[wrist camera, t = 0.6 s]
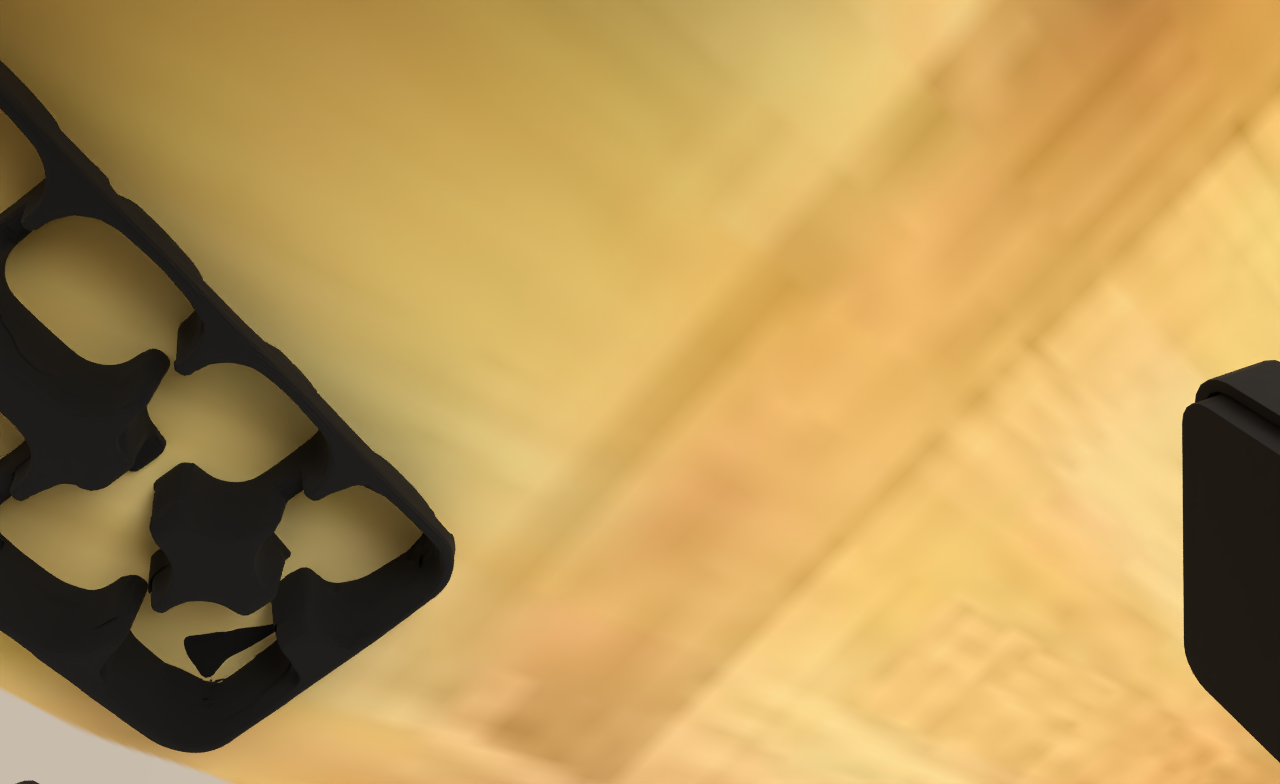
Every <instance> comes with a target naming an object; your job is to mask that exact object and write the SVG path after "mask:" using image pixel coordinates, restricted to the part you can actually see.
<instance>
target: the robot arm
mask: <svg viewBox="0 0 1280 784" xmlns="http://www.w3.org/2000/svg"><path fill="white" fill-rule="evenodd" d="M1182 454H1183V580H1184V648H1185V654H1186V657H1187V660H1188V663H1189V665H1190V667H1191V670H1192V672H1193V674H1194V675H1195V677H1196V678H1197V680H1198V681H1199V683H1200V684H1201V685H1202V686H1203V687H1204V688H1205V690H1206V691H1207V692H1208V693H1209V694H1210V695H1211V696H1212V697H1213V698H1214V699H1215V700H1216V701H1217V702H1219V703H1220V704H1221V705H1222V706H1223V707H1224V708H1225V709H1226V710H1227V711H1228V712H1229V713H1230V714H1231V715H1232V716H1233V717H1234V718H1235V719H1236V720H1237V721H1238V722H1239V723H1240V724H1241V725H1242V726H1243V727H1244V728H1245V729H1246V730H1247V731H1248V732H1249V733H1250V734H1251V735H1252V736H1253V737H1254V738H1255V739H1256V740H1257V741H1258V742H1259V743H1260V744H1261V745H1262V746H1263V747H1264V748H1265V749H1266V750H1267V751H1268V752H1269V753H1270V754H1271V755H1272V756H1273V757H1274V758H1276V759H1277V760H1278V761H1279V762H1280V362H1279V361H1276V360H1269V361H1263V362H1260V363H1257V364H1254V365H1251V366H1248V367H1245V368H1242V369H1239V370H1236V371H1233V372H1230V373H1227V374H1224V375H1221V376H1218V377H1216V378H1213V379H1210V380H1207V381H1206V382H1204V383H1203V384H1201V385H1200V387H1199V389H1198V391H1197V393H1196V399H1195V403H1193V404H1191V405H1190V406H1188V407H1187V408H1186V410H1185V412H1184V414H1183V421H1182ZM17 784H39V783H37V782H35V781H23V782H20V783H17Z"/></svg>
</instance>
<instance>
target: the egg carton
mask: <svg viewBox="0 0 1280 784" xmlns="http://www.w3.org/2000/svg"><path fill="white" fill-rule="evenodd" d="M0 108H1V109H2V110H3V111H4V112H5V114H6V115H7V116H8V117H9V118H10V119H11V120H12V121H13V122H14V123H15V124H16V126H17V127H18V128H19V129H20V130H21V131H22V132H23V134H24V135H25V136H26V137H27V138H28V139H29V140H30V142H31V143H32V144H33V145H34V147H35V148H36V150H37V152H38V154H39V156H40V158H41V160H42V163H43V166H44V169H45V175H46V178H45V179H44V180H43V181H42V182H40V183H39V184H38V185H37V186H36V187H34V188H33V189H32V190H31V191H29V192H28V193H27V194H26V195H24V196H23V197H22V198H21V199H19V200H18V201H17V202H16V203H14V204H13V205H12V206H11V207H9V208H8V209H7V210H5V211H4V212H3V213H1V214H0V412H1V413H2V414H3V415H4V416H6V417H7V418H8V419H9V420H10V421H11V422H12V423H13V424H14V425H15V426H16V427H17V429H18V430H19V431H20V432H21V433H22V435H23V436H24V438H25V439H26V440H25V441H24V442H23V443H22V444H21V445H19V446H18V447H17V448H16V449H14V450H13V451H11V452H10V453H9V454H7V455H6V456H5V457H3V458H2V459H0V505H1V504H2V503H3V502H4V501H5V500H7V499H8V498H9V497H10V496H12V497H13V498H14V499H16V500H19V501H22V500H25V499H28V498H29V497H30V496H32V495H35V494H37V493H39V492H41V491H43V490H46V489H49V488H51V487H53V486H56V485H58V484H74V485H77V486H78V487H80V488H83V489H86V490H90V491H92V490H99V489H102V488H105V487H107V486H108V485H110V484H111V483H112V482H114V481H115V480H116V479H118V478H119V477H120V476H122V475H123V474H124V473H126V472H127V471H138V470H139V469H141V468H143V467H144V466H146V465H147V464H149V463H150V462H151V461H153V460H154V459H155V458H157V457H158V456H159V455H160V454H161V453H162V452H163V451H164V449H165V446H166V440H165V439H164V437H163V436H162V435H161V434H160V432H159V431H158V429H157V427H156V426H155V425H154V424H153V423H152V421H151V419H150V417H149V415H148V412H147V404H148V403H149V401H150V400H151V398H152V396H153V394H154V392H155V391H156V389H157V388H158V386H159V384H160V381H161V379H162V378H163V376H164V375H165V373H166V372H167V370H168V368H169V366H170V360H169V358H168V357H167V356H166V355H165V354H164V353H163V352H162V351H160V350H157V349H149V350H147V351H145V352H143V353H141V354H139V355H138V356H136V357H135V358H133V359H131V360H130V361H127V362H125V363H122V364H117V365H101V364H96V363H93V362H90V361H88V360H85V359H84V358H82V357H80V356H79V355H77V354H76V353H75V352H74V351H72V350H71V349H70V348H69V347H68V346H66V345H65V344H64V343H63V342H62V341H61V340H60V339H59V338H57V337H56V336H55V335H54V334H53V333H52V332H51V331H50V330H49V329H48V328H46V327H45V326H44V325H43V324H42V323H41V322H40V321H39V320H38V319H37V318H36V317H35V316H34V315H33V314H32V313H31V312H30V311H28V310H27V309H26V308H25V307H24V306H23V305H22V304H21V303H20V302H19V301H18V299H17V298H16V297H15V296H14V295H13V294H12V292H11V291H10V289H9V287H8V285H7V282H6V279H5V263H6V260H7V257H8V255H9V253H10V252H11V250H12V249H13V248H14V247H15V246H16V245H17V244H18V243H19V242H20V241H21V240H22V239H23V238H25V237H26V236H27V235H28V234H29V233H31V232H32V231H33V230H36V229H38V228H40V227H41V226H43V225H44V224H46V223H48V222H50V221H52V220H55V219H58V218H62V217H67V216H74V215H76V216H85V217H92V218H96V219H99V220H102V221H104V222H105V223H107V224H109V225H111V226H113V227H115V228H116V229H118V230H119V231H121V232H122V233H123V234H124V235H125V236H126V237H127V238H129V239H130V240H131V241H132V242H133V243H134V244H135V245H137V246H138V247H139V248H140V249H141V250H142V251H143V252H144V253H146V254H147V255H148V256H149V257H150V258H151V259H152V260H153V261H154V262H155V263H156V264H157V265H158V266H159V267H160V268H161V269H162V270H163V271H164V272H165V273H166V274H167V275H168V277H169V278H170V279H171V280H172V281H173V282H174V283H175V285H176V286H177V287H178V288H179V289H180V290H181V291H182V293H183V294H184V295H185V296H186V297H187V299H188V300H189V301H190V303H191V304H192V306H193V308H194V309H195V311H194V312H193V313H192V314H191V315H190V316H189V317H188V318H187V319H186V320H185V321H184V322H183V323H181V325H180V327H179V330H178V339H177V353H176V360H175V362H174V369H175V371H176V372H178V373H179V374H181V375H184V376H186V375H190V374H192V373H193V372H195V371H197V370H199V369H201V368H203V367H205V366H207V365H209V364H216V363H236V364H242V365H246V366H249V367H251V368H253V369H255V370H257V371H259V372H260V373H262V374H263V375H265V376H266V377H267V378H269V379H270V380H271V381H272V382H274V383H275V384H276V385H277V386H278V387H279V388H280V389H282V390H283V391H284V392H285V393H286V394H287V395H288V396H289V397H290V398H291V399H292V400H293V401H294V402H295V403H296V404H297V405H298V406H299V407H300V409H301V410H302V411H303V412H304V413H305V414H306V415H307V416H308V417H309V418H310V419H311V421H312V422H313V423H314V424H315V425H316V426H317V428H318V429H319V431H318V432H317V433H316V434H315V435H314V436H313V437H312V438H311V439H309V440H308V441H307V442H306V443H304V444H303V445H302V446H300V447H299V448H298V449H297V450H295V451H294V452H293V453H291V454H290V455H289V456H287V457H286V458H285V459H283V460H282V461H280V462H279V463H278V464H276V465H275V466H273V467H272V468H271V469H269V470H268V471H266V472H265V473H263V474H262V475H260V476H258V477H256V478H254V479H252V480H248V481H244V482H227V481H222V480H219V479H217V478H214V477H212V476H211V475H209V474H207V473H206V472H205V471H203V470H202V469H201V468H199V467H198V466H197V465H195V464H194V463H180V464H178V465H177V466H175V467H174V468H173V469H171V470H170V471H168V472H167V473H166V474H164V475H163V476H162V477H160V478H159V479H158V480H156V482H155V483H154V490H155V493H154V500H153V509H152V516H151V521H150V532H151V534H152V537H153V539H154V541H155V543H156V544H157V545H158V546H159V547H160V549H159V550H158V551H157V552H155V553H154V554H153V555H152V557H151V563H150V572H149V582H148V584H147V582H146V581H145V580H144V579H143V578H141V577H140V576H137V575H129V576H124V577H121V578H120V579H118V580H117V581H115V582H114V583H112V584H110V585H108V586H106V587H104V588H101V589H98V590H87V589H83V588H79V587H76V586H73V585H70V584H68V583H65V582H63V581H61V580H60V579H58V578H56V577H55V576H53V575H52V574H50V573H49V572H47V571H46V570H45V569H43V568H42V567H41V566H39V565H38V564H37V563H35V562H34V561H33V560H31V559H30V558H29V557H27V556H26V555H25V554H23V553H22V552H21V551H20V550H19V549H17V548H16V547H15V546H14V545H13V544H12V543H11V542H10V541H9V540H7V539H6V538H5V537H4V536H3V535H2V534H1V533H0V537H1V538H2V539H3V540H4V541H3V540H2V539H1V538H0V631H2V632H3V633H5V634H6V635H8V636H9V637H11V638H12V639H14V640H15V641H16V642H18V643H19V644H20V645H22V646H23V647H24V648H26V649H27V650H28V651H30V652H31V653H32V654H33V655H34V656H36V657H37V658H38V659H39V660H40V661H42V662H43V663H45V664H46V665H48V666H49V667H50V668H52V669H53V670H55V671H56V672H57V673H59V674H60V675H62V676H63V677H64V678H66V679H67V680H69V681H70V682H71V683H73V684H74V685H75V686H77V687H78V688H79V689H81V690H82V691H83V692H84V693H86V694H87V695H88V696H90V697H91V698H92V699H94V700H95V701H96V702H98V703H99V704H101V705H102V706H104V707H105V708H106V709H108V710H109V711H111V712H112V713H113V714H115V715H116V716H117V717H119V718H120V719H121V720H123V721H124V722H125V723H127V724H128V725H130V726H131V727H133V728H134V729H135V730H137V731H139V732H140V733H141V734H143V735H144V736H146V737H147V738H149V739H150V740H152V741H154V742H156V743H157V744H159V745H162V746H164V747H167V748H170V749H173V750H177V751H182V752H189V753H201V752H208V751H212V750H215V749H218V748H220V747H223V746H224V745H226V744H228V743H229V742H231V741H232V740H234V739H235V738H236V737H238V736H239V735H241V734H242V733H243V732H245V731H246V730H248V729H249V728H251V727H252V726H254V725H255V724H257V723H258V722H260V721H261V720H263V719H264V718H266V717H267V716H269V715H270V714H272V713H273V712H275V711H276V710H277V709H279V708H280V707H282V706H283V705H285V704H286V703H288V702H289V701H290V700H292V699H293V698H294V697H296V696H297V695H298V694H300V693H301V692H303V691H304V690H306V689H307V688H309V687H310V686H311V685H313V684H314V683H316V682H317V681H319V680H320V679H321V678H323V677H324V676H326V675H327V674H329V673H330V672H332V671H333V670H334V669H336V668H337V667H339V666H340V665H342V664H343V663H345V662H346V661H348V660H349V659H350V658H352V657H353V656H355V655H356V654H358V653H359V652H360V651H362V650H363V649H364V648H366V647H368V646H369V645H371V644H372V643H373V642H375V641H376V640H377V639H379V638H380V637H382V636H383V635H384V634H386V633H387V632H388V631H390V630H391V629H392V628H394V627H395V626H396V625H398V624H399V623H400V622H402V621H403V620H405V619H406V618H408V617H409V616H410V615H411V614H413V613H414V612H415V611H416V610H418V609H419V608H420V607H422V606H423V605H425V604H426V603H427V602H429V601H430V600H431V599H433V598H434V597H436V596H437V595H438V594H439V593H440V592H441V591H442V590H443V589H444V588H445V586H446V585H447V583H448V582H449V580H450V577H451V574H452V571H453V567H454V555H455V541H454V537H453V535H452V534H450V533H449V532H448V531H447V530H446V528H445V527H444V526H443V525H442V524H441V523H440V522H439V521H438V519H437V518H436V517H435V514H434V512H433V511H432V510H431V509H430V507H429V506H428V504H427V503H426V501H425V500H424V499H423V498H422V496H421V495H420V494H419V493H418V492H417V490H416V489H415V488H414V487H413V486H412V485H411V484H410V483H409V482H408V481H407V480H406V479H405V478H404V477H403V476H402V475H401V474H400V473H399V472H398V471H397V470H396V469H395V468H394V467H393V466H392V465H391V464H390V463H389V462H387V461H386V460H385V459H384V458H382V457H381V456H380V455H378V454H376V453H374V452H373V451H372V450H371V449H370V448H369V447H368V446H367V445H366V444H365V443H364V442H363V440H362V439H361V438H360V437H359V436H358V435H357V434H356V433H355V432H354V431H353V430H352V429H351V428H350V427H349V426H348V425H347V424H346V423H345V422H344V421H343V420H342V419H341V417H340V416H339V415H338V414H337V413H336V412H335V411H334V410H333V409H332V408H331V407H330V406H329V405H328V404H327V403H326V401H325V400H324V399H323V398H322V397H321V396H320V395H319V394H318V393H317V391H316V389H315V388H313V386H312V384H311V383H310V382H309V381H308V379H307V378H306V377H305V376H304V374H303V373H302V372H301V371H300V370H299V369H298V368H297V367H296V366H295V365H294V364H293V363H292V362H291V361H290V360H289V359H288V358H287V357H286V356H285V355H284V354H283V353H282V352H281V351H280V350H278V349H277V348H275V347H273V346H271V345H270V344H268V343H266V342H264V341H263V340H262V339H261V338H260V337H259V336H258V335H257V334H256V333H255V332H254V331H253V330H252V329H251V328H250V327H249V326H248V325H246V324H245V323H244V321H243V320H242V319H240V318H239V317H238V316H237V315H236V314H235V313H234V311H233V310H232V309H231V308H230V307H229V306H228V305H227V304H226V303H225V302H224V301H223V300H222V299H221V298H220V297H219V296H218V295H217V294H216V293H215V292H214V291H213V290H212V289H211V288H210V287H209V286H208V285H207V284H206V283H205V282H204V281H203V278H202V276H201V274H200V273H199V271H198V269H197V268H196V266H195V265H194V263H193V262H192V261H191V260H190V259H189V257H188V256H187V255H186V254H185V253H184V252H183V251H182V250H181V249H180V247H179V246H178V245H177V244H176V243H175V242H174V241H173V240H172V239H171V237H170V236H169V235H168V234H167V233H166V232H165V231H164V230H163V229H162V228H161V227H160V226H159V225H158V224H157V223H156V222H155V221H154V220H153V219H152V218H151V217H150V216H149V215H148V214H146V213H145V212H144V211H143V209H141V208H140V207H139V206H138V205H137V204H135V203H134V202H132V201H131V200H129V199H126V198H124V197H122V196H119V195H118V194H117V193H116V192H115V191H114V189H113V188H112V187H111V185H110V183H109V179H108V178H107V177H106V176H105V175H104V174H103V173H102V171H101V170H100V169H99V168H98V167H97V166H96V165H95V164H93V163H92V162H91V161H90V160H89V159H88V158H87V156H85V155H84V154H83V153H82V152H81V150H80V149H79V148H78V147H77V146H76V145H75V144H74V143H73V142H72V141H71V140H70V139H69V138H68V137H67V136H66V135H65V134H64V133H63V132H62V131H61V130H60V128H59V126H58V124H57V122H56V121H55V119H54V118H53V116H52V115H51V114H50V113H49V112H48V110H47V109H46V108H45V107H44V106H43V104H42V103H41V102H40V101H39V100H38V99H37V98H36V97H35V95H34V94H33V93H32V92H31V91H30V90H29V89H28V88H27V87H26V86H25V85H24V84H23V83H22V82H21V80H20V79H19V78H18V77H17V76H16V75H15V74H14V73H13V72H12V71H11V70H10V69H9V68H8V67H7V66H6V65H5V64H4V63H3V62H2V61H1V60H0ZM355 485H363V486H365V487H367V488H369V489H371V490H373V491H375V492H377V493H379V494H381V495H383V496H385V497H386V498H387V499H389V500H390V501H391V502H392V503H393V504H394V505H396V506H397V507H398V508H399V509H400V510H401V511H402V512H403V513H404V514H405V515H406V516H407V517H408V518H409V519H410V520H412V521H413V522H414V523H415V524H416V526H417V527H418V528H419V529H420V530H421V531H422V532H423V534H422V536H421V537H420V538H419V539H418V540H417V541H416V542H415V543H414V545H413V546H412V547H411V548H410V549H409V550H408V551H407V552H406V553H404V554H402V555H400V556H399V557H397V558H396V559H394V560H392V561H391V562H389V563H387V564H386V565H384V566H383V567H381V568H379V569H378V570H376V571H375V572H373V573H371V574H369V575H367V576H365V577H363V578H360V579H357V580H353V581H348V582H342V583H332V582H328V581H326V580H324V579H322V578H321V577H320V576H319V575H317V574H316V573H315V572H314V571H313V570H311V569H309V568H300V569H298V570H296V571H294V572H292V573H290V574H288V575H287V576H286V577H285V578H283V579H282V580H281V581H280V579H281V575H282V571H283V567H284V564H285V560H286V559H287V558H289V557H290V555H291V552H290V551H289V550H288V549H287V547H286V546H285V545H284V544H283V543H282V541H281V540H280V539H279V538H278V537H277V536H276V534H275V533H274V531H275V529H276V527H277V526H278V524H279V523H280V521H281V518H282V515H283V511H284V509H285V505H286V503H287V502H288V500H290V499H291V498H292V497H294V496H295V495H296V494H298V493H299V492H301V491H302V490H304V493H305V495H306V496H307V497H308V498H309V499H311V500H313V501H316V500H320V499H322V498H324V497H325V496H327V495H329V494H331V493H334V492H337V491H340V490H343V489H346V488H348V487H351V486H355ZM147 590H148V591H149V593H151V592H152V593H151V606H152V609H153V610H154V611H156V612H158V613H163V612H166V611H167V610H169V609H170V608H172V607H174V606H177V605H179V604H182V603H185V602H190V601H207V602H213V603H217V604H220V605H223V606H225V607H227V608H229V609H231V610H232V611H234V612H236V613H237V614H240V615H243V616H244V615H249V614H251V613H254V612H255V611H257V610H259V609H260V608H262V607H263V606H264V605H266V604H267V603H269V602H270V601H271V604H272V615H273V624H271V625H266V626H259V627H249V628H241V629H236V630H233V631H228V632H215V633H209V634H202V635H194V636H189V637H186V638H185V639H184V646H185V650H186V652H187V655H188V656H189V658H190V659H191V661H192V662H193V664H194V665H195V666H196V668H197V669H198V671H199V672H200V674H201V675H202V676H203V677H205V678H207V677H211V676H212V675H214V673H215V672H216V671H217V669H218V668H219V667H220V666H221V665H222V663H223V662H224V661H225V660H226V659H228V658H229V657H231V656H233V655H235V654H237V653H239V652H241V651H243V650H245V649H247V648H248V647H250V646H252V645H254V644H255V643H257V642H259V641H261V640H262V639H264V638H266V637H267V636H269V635H270V634H272V633H273V632H276V637H277V640H276V641H275V642H274V643H273V644H272V645H271V646H269V647H268V648H267V649H265V650H264V651H262V652H261V653H259V654H258V655H256V657H254V659H253V660H252V661H250V662H249V663H248V664H246V665H245V666H243V667H242V668H241V669H239V670H238V671H237V672H235V673H234V674H232V675H231V676H229V677H228V678H226V679H224V678H223V679H218V680H215V682H210V681H212V680H210V681H204V680H202V679H201V678H198V677H196V676H194V675H192V674H190V673H188V672H186V671H184V670H182V669H180V668H177V667H175V666H172V665H169V664H167V663H164V662H163V661H162V660H161V659H159V658H158V657H157V656H156V655H154V654H153V653H152V652H151V651H150V650H148V649H147V648H146V647H145V646H144V645H143V644H142V643H141V642H140V641H139V640H138V639H136V637H135V636H134V635H133V634H132V632H131V631H130V628H131V626H132V623H133V621H134V619H135V616H136V614H137V612H138V610H139V608H140V605H141V604H142V601H143V599H144V597H145V594H146V592H147ZM222 680H223V681H222ZM219 681H222V682H220V683H217V682H219Z"/></svg>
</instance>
